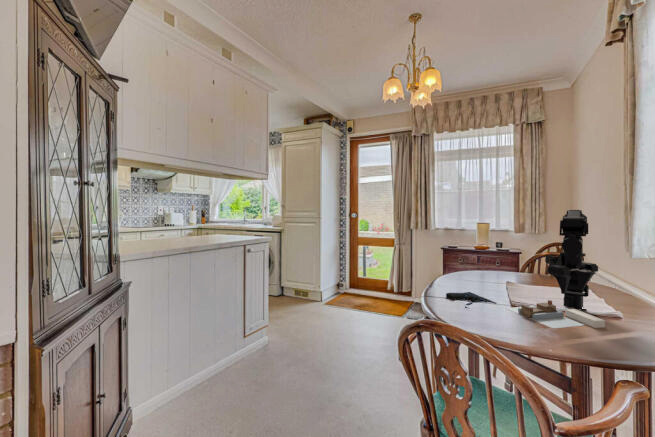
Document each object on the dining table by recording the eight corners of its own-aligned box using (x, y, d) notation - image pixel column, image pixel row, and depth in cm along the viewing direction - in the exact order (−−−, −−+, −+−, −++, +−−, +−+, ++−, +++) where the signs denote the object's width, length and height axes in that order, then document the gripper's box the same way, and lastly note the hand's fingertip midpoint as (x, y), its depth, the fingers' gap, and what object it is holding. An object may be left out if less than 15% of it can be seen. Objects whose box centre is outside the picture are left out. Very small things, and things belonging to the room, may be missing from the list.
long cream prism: (574, 318, 118) (574, 308, 118) (605, 331, 106) (605, 320, 106) (565, 319, 118) (565, 309, 118) (594, 331, 106) (594, 320, 106)
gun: (479, 316, 126) (507, 311, 130) (479, 309, 125) (507, 305, 130) (442, 298, 148) (466, 294, 153) (442, 292, 148) (466, 289, 152)
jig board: (533, 308, 130) (533, 301, 130) (585, 328, 108) (585, 319, 108) (505, 310, 128) (505, 303, 128) (553, 331, 106) (553, 323, 106)
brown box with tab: (546, 312, 122) (546, 298, 122) (555, 315, 118) (556, 301, 118) (521, 314, 120) (521, 301, 120) (529, 318, 116) (529, 304, 116)
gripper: (568, 246, 123) (568, 283, 124) (533, 249, 118) (533, 287, 119) (599, 249, 112) (598, 290, 113) (562, 253, 107) (562, 295, 108)
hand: (572, 290), depth 114 cm, fingers open, 9 cm apart
